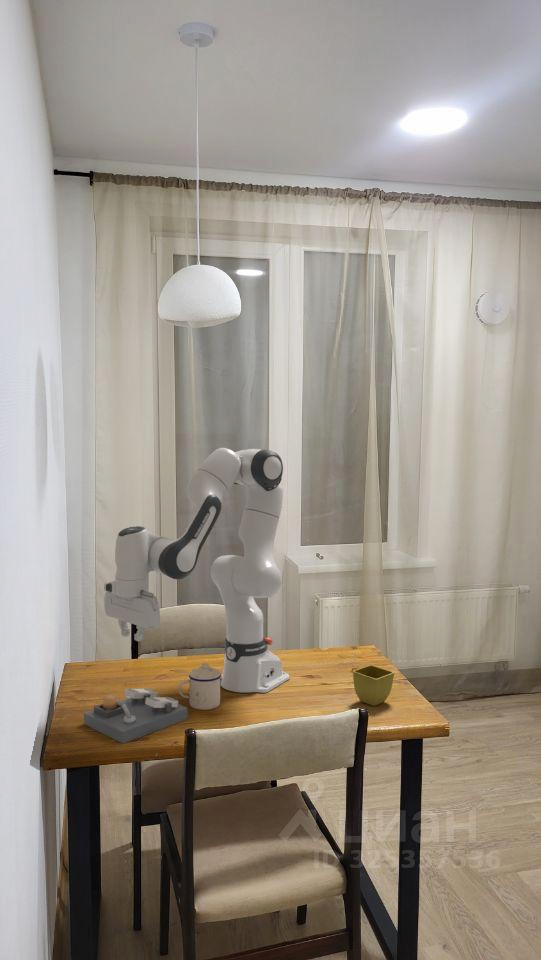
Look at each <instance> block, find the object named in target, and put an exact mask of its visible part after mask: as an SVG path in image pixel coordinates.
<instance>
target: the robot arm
mask: <svg viewBox="0 0 541 960" xmlns="http://www.w3.org/2000/svg"><path fill="white" fill-rule="evenodd" d="M283 472H284V464H283V461H282V458H281V456H280V455H279V454H278V453H277V452H275V451H272V450H270V449H259V448H249V449H242V450H241V449H236V450H232V449H229V448H228V447H220V448H219V447H218V448H216V449H215V450H213V452H211V453H210V454H209V455H208V457H206V458H205V459H204V460H203V462H202V463H201V464H200V465H199V467H198V468H197V469H196V470H195V472H194V473H193V474H192V476H191V477H190V479H189V481H188V483H187V485H186V489H185V490H186V496H187V498H188V501H189V502H190V503H191V505H192V506H193V507H194V513H193V516H192V518H191V519H190V521H189V523H188V525H187V526H186V529H185V530H184V531H183V532H184V533H182V535H181V536H180V537H178V538H176V539H173V538H172V539H171V538H168V537H165V536H161V535H158V534H156V533H153V532H151V531H149V530H148V529H146V527H144V526H138V525H137V526H130V527H126V528H124V529H122V530H120V531H119V532H118V533H117V537H116V540H115V541H116V542H115V548H114V549H115V551H114V554H115V555H114V562H115V565H116V572H115V575H114V578H115V579H114V580H113V581H109V582H106V583H103V584H104V585H103V590H104V591H105V593H104V602H103V603H104V613H105V615H106V616H107V617H110V618H113V619H117V621H118V625H119V628H120V630H121V631H120V633H121V634H120V635H121V637H126V638H128V637H129V636H130V635H131V630H130V628H128V624H127V623H129V624H131V625H135V626H136V629H137V631H136V633H134V641H136V642H142V641H143V640H144V633H145V632H146V630H152V629H156V628H159V627H160V625H161V612H160V605H159V601H158V598H157V597H156V595H155V593H153V592H149V589H150V588H149V583H150V582H149V579H150V577H149V575H150V572H156V573H159V574H162V575H164V576H167V577H168V578H171V579H173V580H183V579H185V578H187V577H188V576H190V575H191V574H192V573H193V571H194V570H195V568H196V566H197V563H198V560H199V556H200V554H201V551H202V548H203V546H204V545H205V543H206V540H207V539H208V537H209V535H210V534H211V532H212V530H213V529H214V526H215V524H216V522H217V521H218V518H219V516H220V514H221V510H222V503H223V500H224V498H225V497H226V496H227V494H228V492H230V490H231V488H232V487H233V485H241V486H246V487H247V491H248V497H247V500H246V503H245V506H244V509H243V513H242V517H241V521H240V525H239V529H238V537H239V540H241V542H242V545H243V548H244V550H243V551H244V554H243V555H244V556H240V555H235V554H226V555H220V556H218V557H217V558H216V559H215V560H213V563H212V565H211V567H210V578H211V580H212V582H213V584H214V585H216V588H217V590H218V591H219V593H220V596H221V598H222V602H223V605H224V611H225V617H226V618H225V619H226V620H225V621H226V622H225V623H226V638H225V641H224V651H225V653H224V661H223V671H222V673H221V677H220V687H222V688H223V689H224V690H227V691H228V692H229V691H230V692H234V693H264V694H266V693H269V692H270V691H272V690H273V689H275V688H276V687H278V686H280V685H282V684H283V683H285V682H287V681H288V680H290V679H291V676H290V675H289V674H288V672H285V671H283V664H282V661H281V659H280V658H279V657H278V656H277V655H275V654H274V653H272V651H270V650H269V649H268V647H267V645H268V646H272V644H273V642H274V641H273V638H269V637H264V614H263V611H262V609H261V608H260V607H259V606H258V605H257V603H256V600H255V599H268V598H270V599H271V598H273V597H275V596H276V594H278V592H279V591H280V590H281V587H282V583H283V578H282V576H283V575H282V573H281V571H280V569H279V567H278V565H277V564H276V558H275V550H274V548H275V547H274V546H275V540H276V534H277V529H278V526H279V521H280V518H281V512H282V508H283V506H282V505H283V498H284V488H283V487H282V486H283V485H281V482H282V479H283V478H282V477H283Z"/></svg>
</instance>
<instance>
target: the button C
mask: <svg viewBox="0 0 541 960" xmlns="http://www.w3.org/2000/svg"><path fill="white" fill-rule="evenodd" d="M117 702H118V696H117V695H115V694H107V695H104V696H102V704H103V708H104V709H114V708H116V707H117Z"/></svg>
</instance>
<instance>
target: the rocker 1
mask: <svg viewBox="0 0 541 960" xmlns="http://www.w3.org/2000/svg"><path fill="white" fill-rule="evenodd" d="M146 694H150V697H153V698H154V697H156V696H158V692H157V691H155V690H152V689H150V688H125V690H124V695H125V696H126V697H127V696H128V697H130V698H133V699H144V695H146ZM128 697H127V698H128Z"/></svg>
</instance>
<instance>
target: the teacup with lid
mask: <svg viewBox="0 0 541 960" xmlns="http://www.w3.org/2000/svg"><path fill="white" fill-rule="evenodd" d="M221 675H222V672H221V671H220V670H219V669H216V668H214V667H212V666H210V665H209V663H206V662H203V663H202V664H201V666H199V667H197V668H195V669H191V670H190V672H189V674H188V677H189V679H185V680H183V681H180V683H179V685H178V693H179V694H180V696H181V697H182V698H185V699H189V706H190V707H191V708H193V709H195V710H202V711H204V710H206V711H207V710H212V709H216V708H218V707H219V706H220V704H221ZM185 684H189V694H184V692H183V691H182V686H184V685H185Z"/></svg>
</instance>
